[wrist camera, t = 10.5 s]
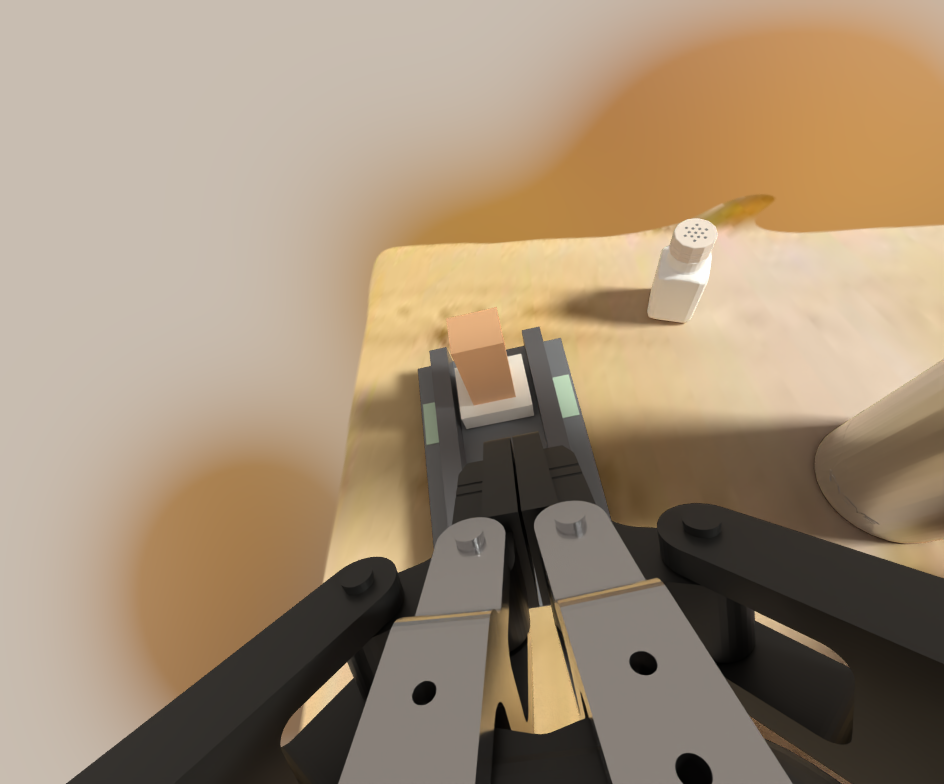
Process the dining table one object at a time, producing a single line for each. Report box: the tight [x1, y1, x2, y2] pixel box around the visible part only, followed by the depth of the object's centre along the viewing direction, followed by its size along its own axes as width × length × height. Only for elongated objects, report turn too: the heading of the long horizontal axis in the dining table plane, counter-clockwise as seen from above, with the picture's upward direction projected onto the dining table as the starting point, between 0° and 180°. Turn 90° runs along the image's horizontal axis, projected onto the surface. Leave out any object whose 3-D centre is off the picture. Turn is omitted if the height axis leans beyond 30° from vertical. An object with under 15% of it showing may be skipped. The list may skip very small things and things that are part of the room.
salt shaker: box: [647, 218, 718, 323], centre depth 38 cm, size 4×4×10 cm
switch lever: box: [446, 307, 534, 429], centre depth 34 cm, size 5×6×11 cm
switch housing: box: [418, 327, 612, 609], centre depth 36 cm, size 22×14×5 cm, turn 8°
